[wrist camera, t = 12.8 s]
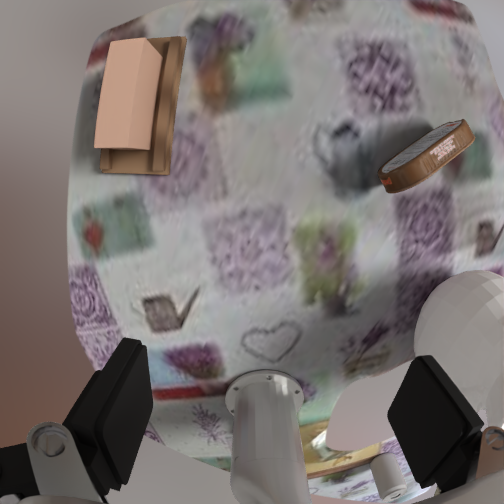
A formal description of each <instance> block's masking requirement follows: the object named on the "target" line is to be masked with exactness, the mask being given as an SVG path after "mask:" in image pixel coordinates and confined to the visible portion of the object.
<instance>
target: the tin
mask: <svg viewBox="0 0 504 504" xmlns="http://www.w3.org/2000/svg"><path fill="white" fill-rule="evenodd" d="M474 140H475V136H474V135H473V133H472V131H471V129H470V127H469V125H468V124H467V122H466V121H465V120H464V119H462V120H459V121H455V122H448V123H446V124H443V125H441V126H439V127H437V128H436V129H434V130H432V131H430V132H429V133H427V134H426V135H424V136H423V137H421V138H420V139H418V140H417V141H416V142H414V143H413V144H411V145H410V146H408V147H407V148H405V149H404V150H403V151H401V152H400V153H398V154H397V155H396V156H394V157H393V158H391V159H390V160H389V161H387V162H386V163H385V164H384V165H383V166H382V167H381V168H380V169H379V171H378V176H379V178H380V180H381V182H382V183H383V185H384V187H385V189H386V192H387V193H398V192H401V191H404V190H407V189H409V188H412V187H414V186H416V185H417V184H419V183H421V182H423V181H424V180H426V179H428V178H429V177H430V176H432V175H433V174H434V173H435V172H437V171H438V170H439V169H441V168H442V167H443V166H445V165H446V164H447V163H448V162H450V161H451V160H452V159H453V158H455V157H456V156H457V155H458V154H460V153H461V152H462V151H464V150H465V149H466V148H467V147H469V146H470V145H471V144H472V143H473V141H474Z"/></svg>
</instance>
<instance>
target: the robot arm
mask: <svg viewBox="0 0 504 504" xmlns="http://www.w3.org/2000/svg"><path fill="white" fill-rule="evenodd" d="M303 400H304V395H303V390H302V387H301V386H300V384H299V383H298V382H297V381H296V380H295V379H294V378H293V377H291V376H290V375H287V374H285V373H282V372H278V371H271V370H261V371H255V372H250V373H247V374H244V375H242V376H241V377H239V378H237V379H236V380H235V381H233V382H232V383H231V385H230V386H229V387H228V389H227V391H226V396H225V403H226V407H227V409H228V411H229V412H230V413H231V415H232V416H234V423H233V440H232V458H231V476H230V477H231V478H230V485H231V490H232V492H233V495H234V496H235V498H236V499H237V501H238V502H239V503H240V504H312V501H311V496H310V491H309V486H308V480H307V474H306V468H305V461H304V455H303V449H302V443H301V436H300V430H299V424H298V418H297V413H298V411H299V410H300V409H301V407H302V404H303ZM152 409H153V398H152V390H151V383H150V374H149V366H148V356H147V347H146V346H145V345H142V343H141V341H140V340H136V339H131V338H123V339H122V340H121V342H120V343H119V345H118V346H117V348H116V349H115V351H114V352H113V354H112V356H111V357H110V359H109V360H108V362H107V363H106V365H105V366H104V368H103V370H102V371H101V370H97V371H96V372H95V373H94V374H93V376H92V377H91V379H90V380H89V382H88V384H87V385H86V387H85V388H84V390H83V391H82V393H81V394H80V396H79V398H78V399H77V401H76V402H75V404H74V406H73V407H72V409H71V410H70V412H69V414H68V415H67V417H66V419H65V420H64V422H63V424H62V425H61V424H59V423H55V422H43V423H40V424H38V425H36V426H34V427H33V428H32V429H31V430H30V432H29V433H28V436H27V443H23V444H18V445H14V446H9V447H4V448H0V504H109V502H108V500H107V498H106V496H105V495H107V494H108V493H109V490H110V488H111V489H114V490H117V491H120V488H121V485H122V484H124V485H126V484H127V483H128V480H129V477H130V474H131V471H132V468H133V465H134V462H135V459H136V456H137V453H138V450H139V447H140V444H141V441H142V438H143V435H144V433H145V430H146V427H147V424H148V421H149V418H150V415H151V412H152ZM387 415H388V420H389V422H390V424H391V427H392V429H393V431H394V433H395V435H396V438H397V440H398V442H399V444H400V446H401V449H402V451H403V453H404V455H405V458H406V460H407V462H408V465H409V467H410V469H411V472H412V474H413V476H414V479H415V481H416V482H417V483H419V484H420V486H421V489H423V488H426V487H429V486H432V485H434V484H435V483H437V489H436V492H435V494H434V497H431V498H428V499H425V500H423V501H419V502H416V503H413V504H504V430H503V429H502V428H500V427H497V426H489V427H487V428H486V429H485V430H484V431H483V432H481V430H480V429H481V428H482V426H483V425H484V422H483V421H482V420H481V418H480V417H479V415H478V414H477V413H476V411H475V410H474V409H473V407H472V406H471V405H470V403H469V402H468V401H467V399H466V398H465V397H464V395H463V394H462V393H461V391H460V390H459V389H458V387H457V386H456V385H455V384H454V382H453V381H452V380H451V378H450V377H449V376H448V375H447V373H446V372H445V371H444V370H443V368H442V367H441V366H440V365H439V363H438V362H437V361H436V360H435V358H434V357H433V356H432V355H423V356H417V357H416V358H415V360H413V361H412V362H411V364H410V366H409V369H408V371H407V373H406V376H405V377H404V380H403V382H402V384H401V386H400V388H399V390H398V392H397V394H396V396H395V398H394V401H393V402H392V404H391V406H390V408H389V410H388V414H387Z"/></svg>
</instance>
